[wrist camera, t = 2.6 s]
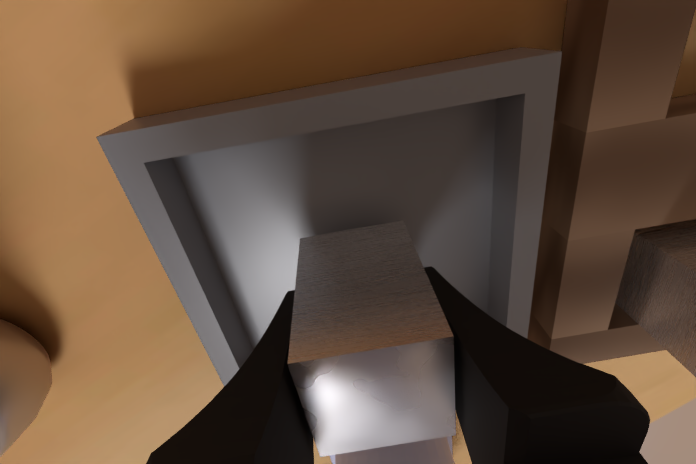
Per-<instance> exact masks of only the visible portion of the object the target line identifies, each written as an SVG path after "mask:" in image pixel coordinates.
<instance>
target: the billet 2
mask: <svg viewBox="0 0 696 464" xmlns="http://www.w3.org/2000/svg"><path fill="white" fill-rule="evenodd" d="M615 303H616V304H617V305H618V306H619V307H621V308H622V309H623V310H624V311H625V312H626V313H627V314H628V315H629V316H630V317H631V318H632V319H633V320H635V321H636V322H637V323H638V324H639V325H640V326H641V327H642V328H643V329H644V330H645V331H646V332H648V333H649V334H650V335H651V336H652V337H653V338H654V339H655V340H656V341H657V342H658V343H659V344H660V345H662V346H663V347H664V348H665V349H666V350H667V351H668V352H669V353H670V354H671V355H672V356H673V357H675V358H676V359H677V360H678V361H679V362H680V363H681V364H682V365H683V366H684V367H685V368H686V369H687V370H689V371H690V372H691V373H692V374H693V375H694V376H695V377H696V219H692V220H686V221H680V222H675V223H669V224H663V225H657V226H652V227H646V228H640V229H635V232H634V235H633V239H632V243H631V246H630V250H629V254H628V257H627V261H626V265H625V268H624V272H623V276H622V279H621V283H620V287H619V290H618V294H617V298H616V301H615Z"/></svg>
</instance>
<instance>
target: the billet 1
mask: <svg viewBox="0 0 696 464" xmlns="http://www.w3.org/2000/svg"><path fill="white" fill-rule="evenodd" d="M288 367H289V370H290V373H291V375H292V378H293V381H294V384H295V387H296V390H297V392H298V395H299V398H300V401H301V404H302V407H303V409H304V412H305V415H306V418H307V421H308V423H309V426H310V429H311V432H312V435H313V438H314V440H315V443H316V446H317V449H318V452H319V455H320V457H323V456H330V455H336V454H342V453H348V452H354V451H361V450H367V449H373V448H379V447H386V446H392V445H398V444H404V443H411V442H417V441H423V440H429V439H436V438H442V437H448V436H454V435H456V417H455V370H454V336H453V334H452V331H451V329H450V327H449V324H448V322H447V320H446V317H445V315H444V313H443V311H442V308H441V306H440V304H439V301H438V299H437V297H436V295H435V292H434V290H433V288H432V285H431V283H430V281H429V278H428V276H427V274H426V272H425V269H424V267H423V265H422V262H421V260H420V258H419V256H418V253H417V251H416V249H415V246H414V244H413V242H412V240H411V237H410V235H409V233H408V230H407V228H406V226H405V223H404V221H397V222H391V223H386V224H380V225H374V226H368V227H362V228H357V229H351V230H345V231H339V232H334V233H328V234H322V235H316V236H310V237H305V238H300V244H299V254H298V264H297V274H296V284H295V294H294V304H293V314H292V324H291V334H290V344H289V354H288Z"/></svg>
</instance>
